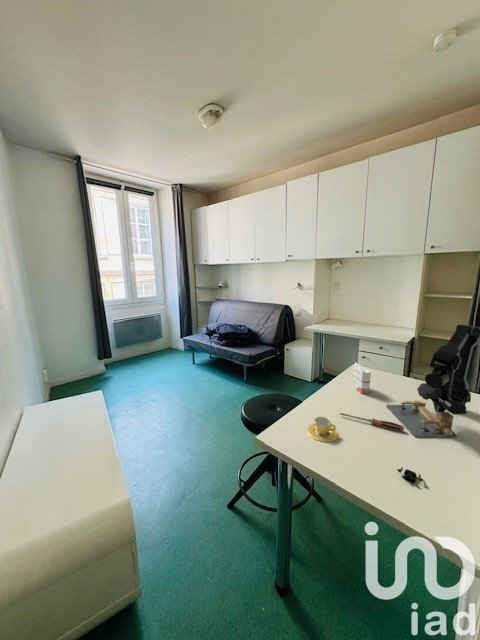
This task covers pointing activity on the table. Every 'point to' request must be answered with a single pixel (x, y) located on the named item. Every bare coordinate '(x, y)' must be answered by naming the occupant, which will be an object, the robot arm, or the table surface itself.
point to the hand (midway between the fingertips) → (438, 415)
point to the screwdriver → (380, 423)
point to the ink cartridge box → (361, 379)
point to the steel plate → (415, 422)
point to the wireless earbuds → (410, 475)
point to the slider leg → (440, 420)
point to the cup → (323, 429)
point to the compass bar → (426, 413)
